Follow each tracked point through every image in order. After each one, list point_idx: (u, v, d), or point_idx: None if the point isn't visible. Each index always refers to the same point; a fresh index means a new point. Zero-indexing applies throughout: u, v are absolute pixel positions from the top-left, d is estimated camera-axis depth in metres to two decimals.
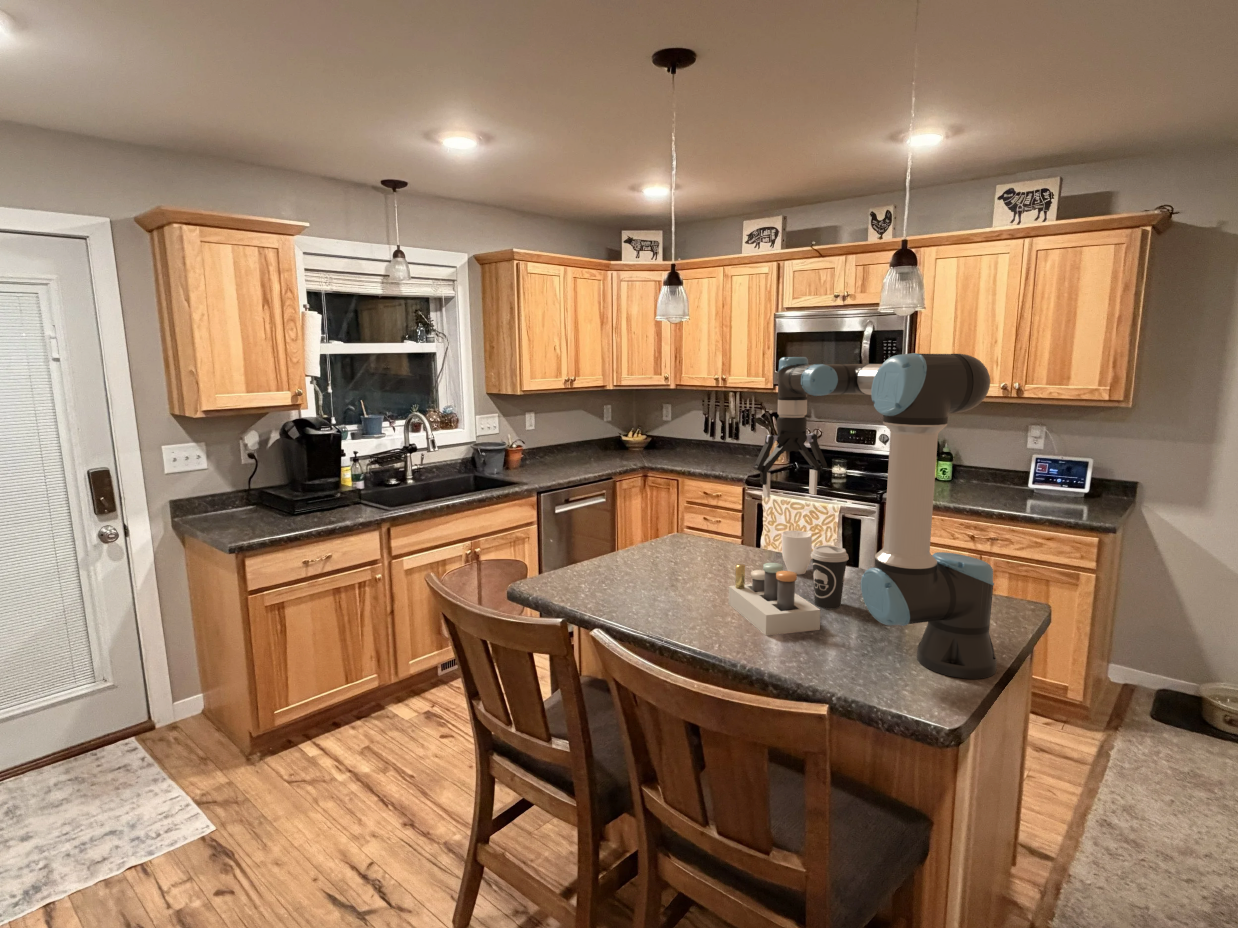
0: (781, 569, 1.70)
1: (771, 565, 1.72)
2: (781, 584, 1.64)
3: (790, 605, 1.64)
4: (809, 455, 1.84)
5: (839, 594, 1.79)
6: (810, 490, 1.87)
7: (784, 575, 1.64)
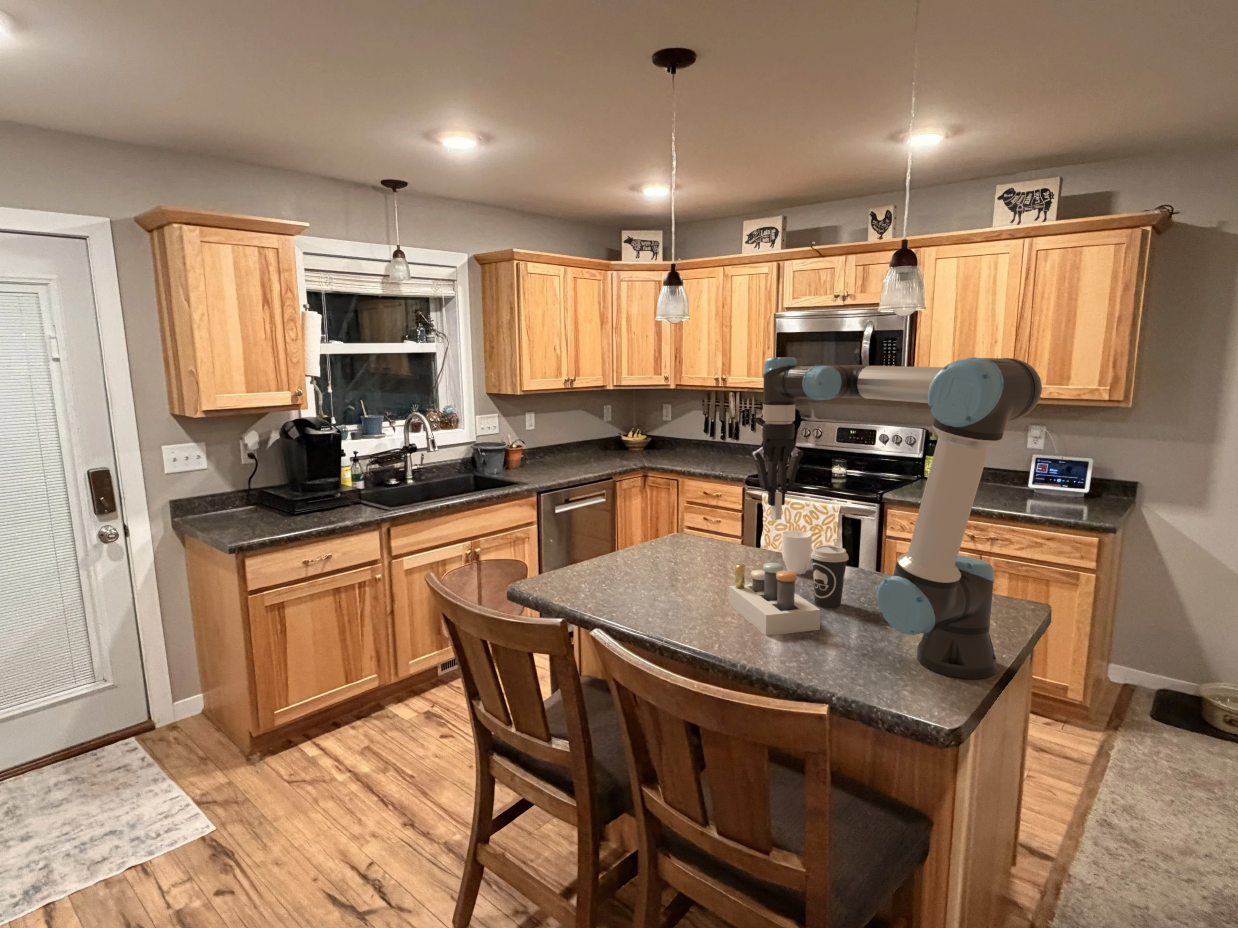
0: (781, 569, 1.70)
1: (771, 565, 1.72)
2: (781, 584, 1.64)
3: (790, 605, 1.64)
4: (784, 471, 1.67)
5: (839, 594, 1.79)
6: None
7: (784, 575, 1.64)
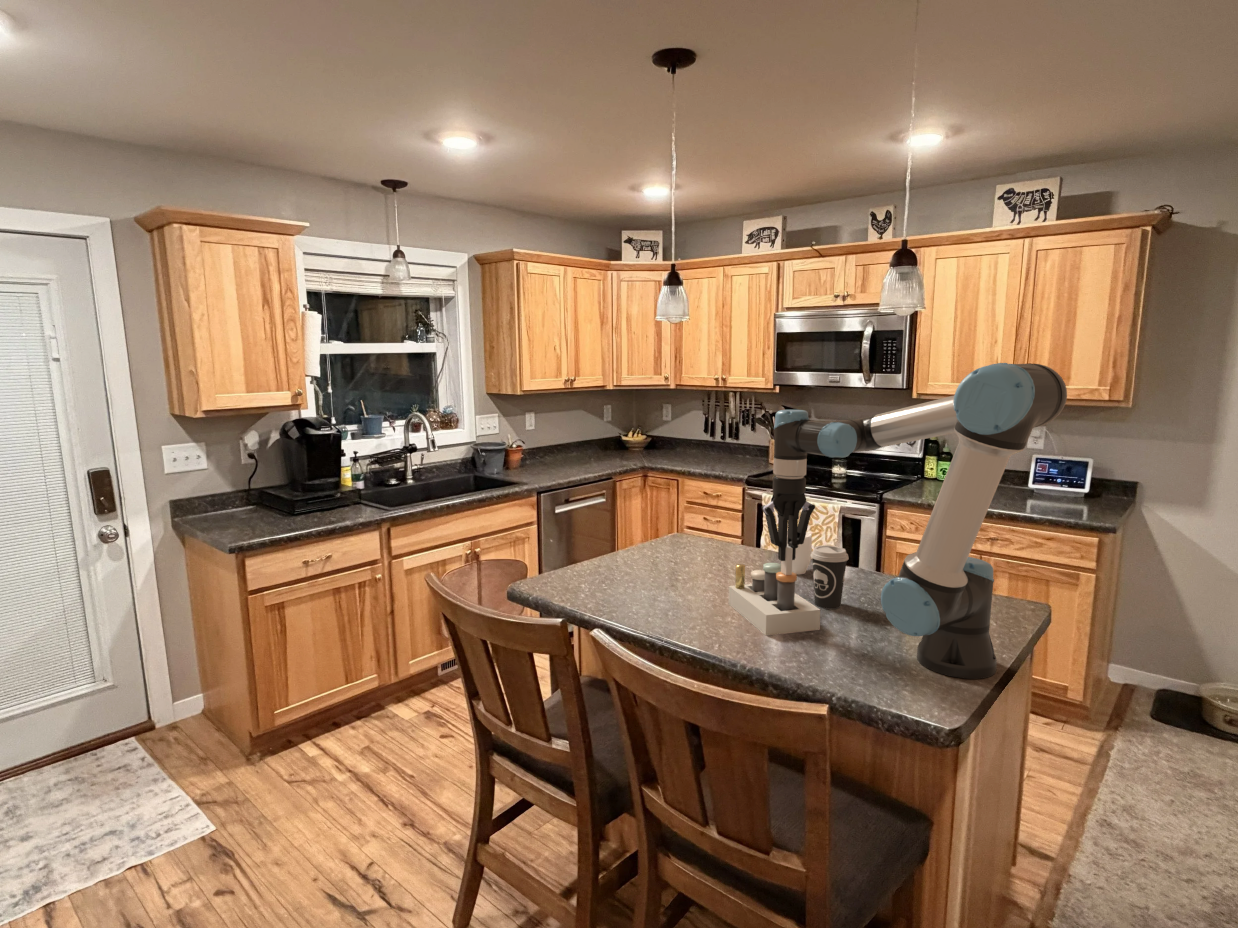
0: None
1: (771, 565, 1.72)
2: (781, 585, 1.64)
3: (790, 606, 1.64)
4: (795, 526, 1.63)
5: (839, 594, 1.79)
6: None
7: (784, 575, 1.64)
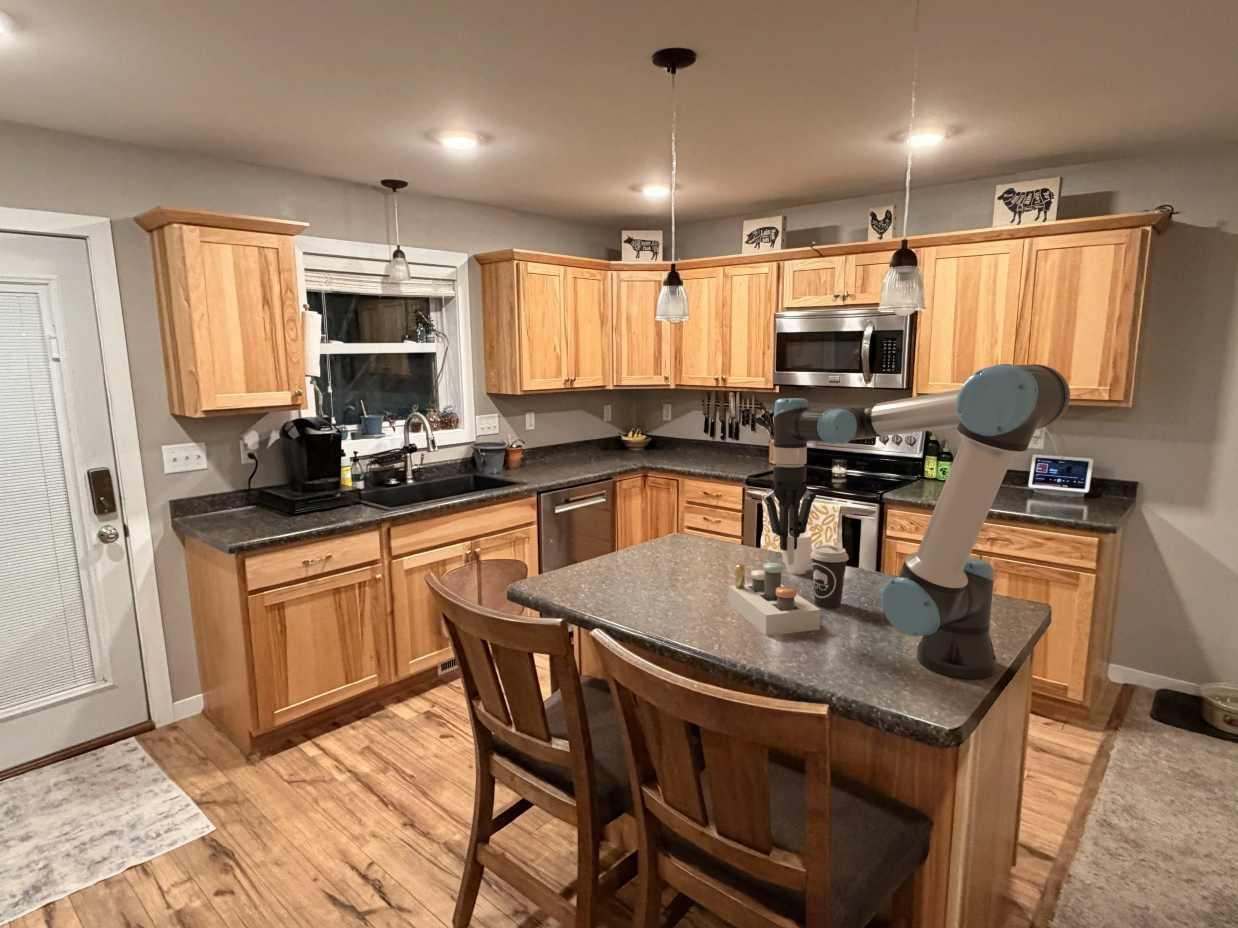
0: (781, 569, 1.70)
1: (771, 565, 1.72)
2: (780, 600, 1.65)
3: None
4: (796, 515, 1.62)
5: (839, 594, 1.79)
6: None
7: (783, 591, 1.65)
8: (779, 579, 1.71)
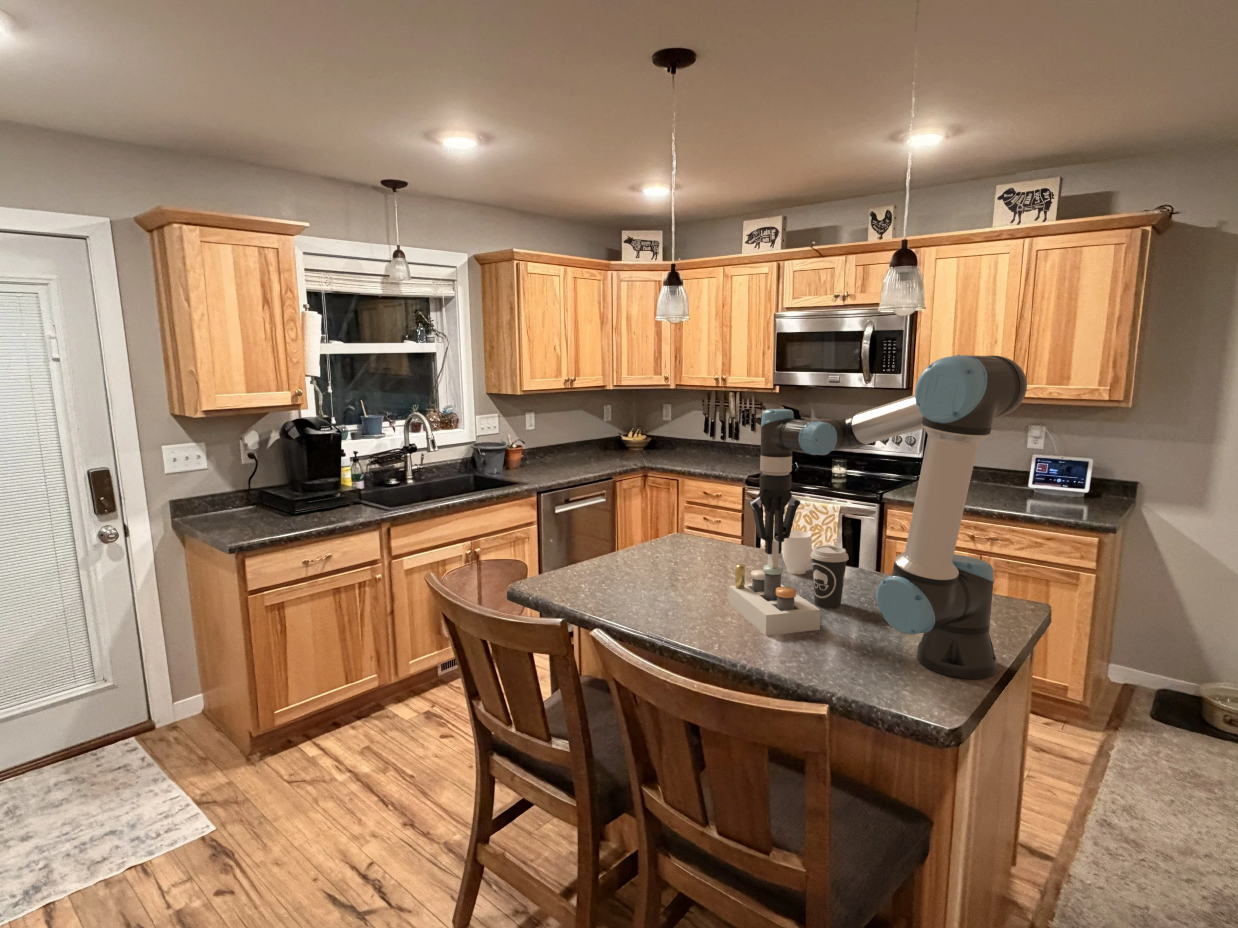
0: (781, 571, 1.70)
1: (771, 567, 1.72)
2: (780, 600, 1.65)
3: None
4: (781, 520, 1.69)
5: (839, 594, 1.79)
6: None
7: (783, 591, 1.65)
8: (779, 581, 1.71)
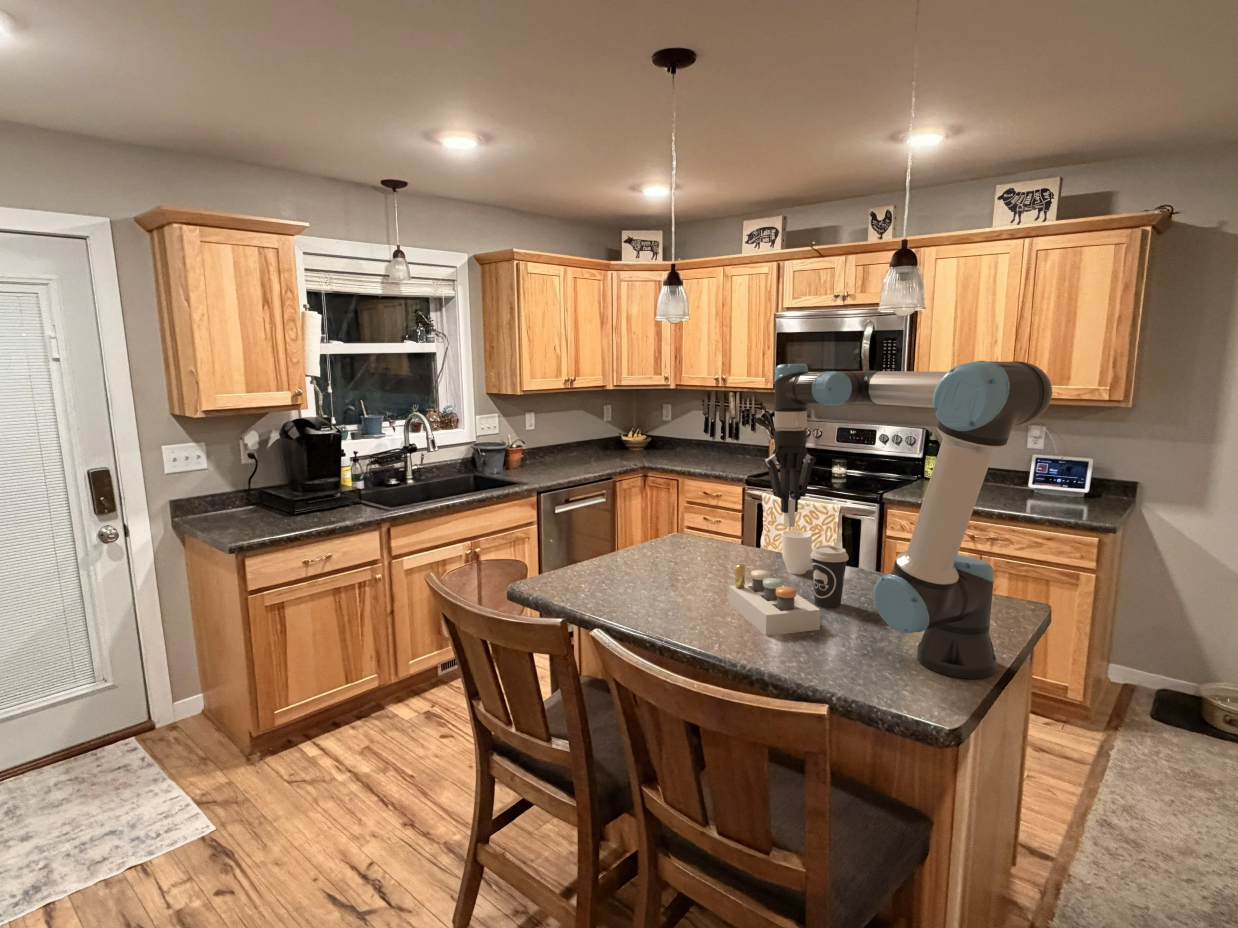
0: (781, 585, 1.71)
1: (770, 581, 1.72)
2: (780, 600, 1.65)
3: None
4: (797, 478, 1.66)
5: (839, 594, 1.79)
6: None
7: (783, 591, 1.65)
8: None
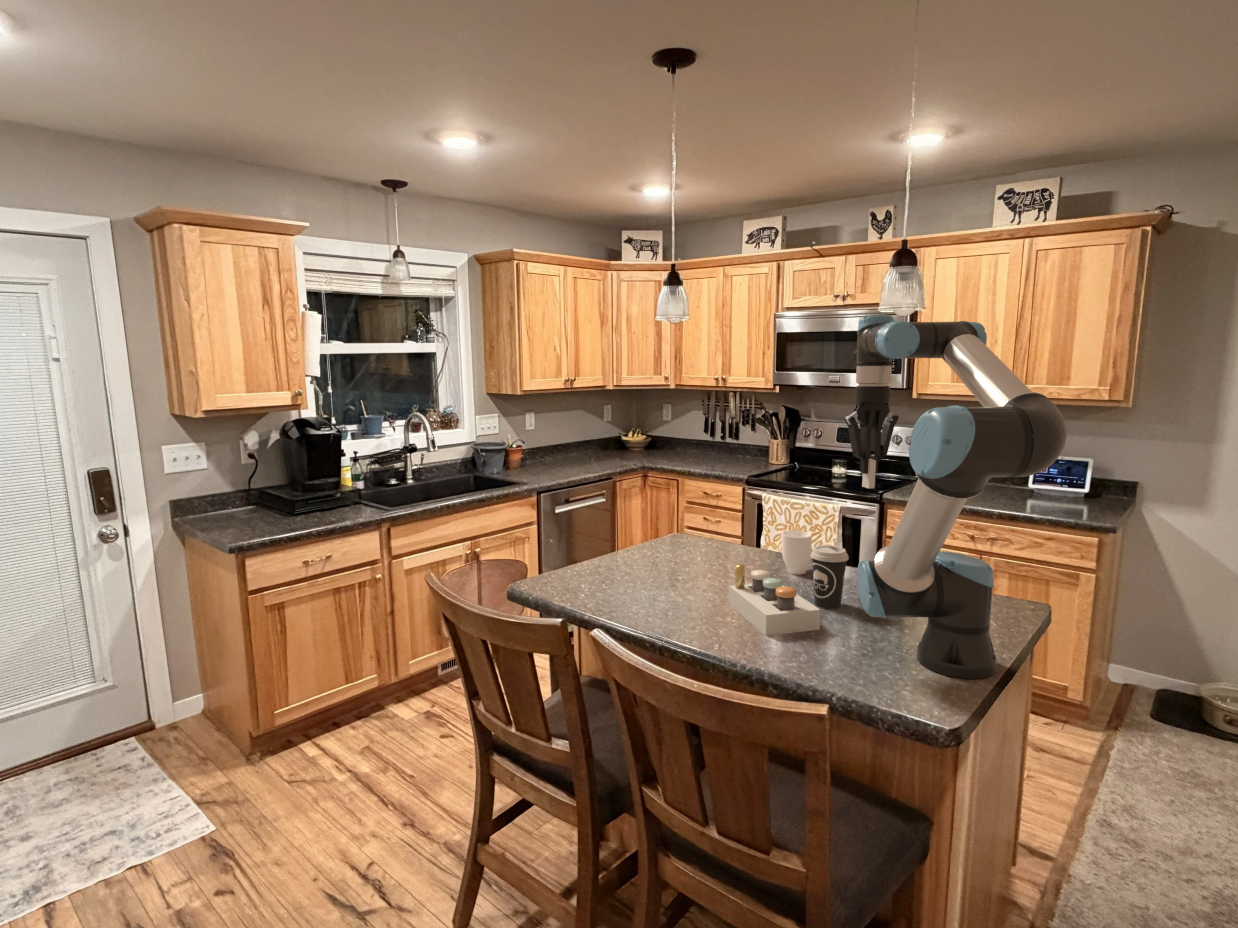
0: (781, 585, 1.71)
1: (770, 581, 1.72)
2: (780, 600, 1.65)
3: None
4: (878, 437, 1.58)
5: (839, 594, 1.79)
6: None
7: (783, 591, 1.65)
8: None
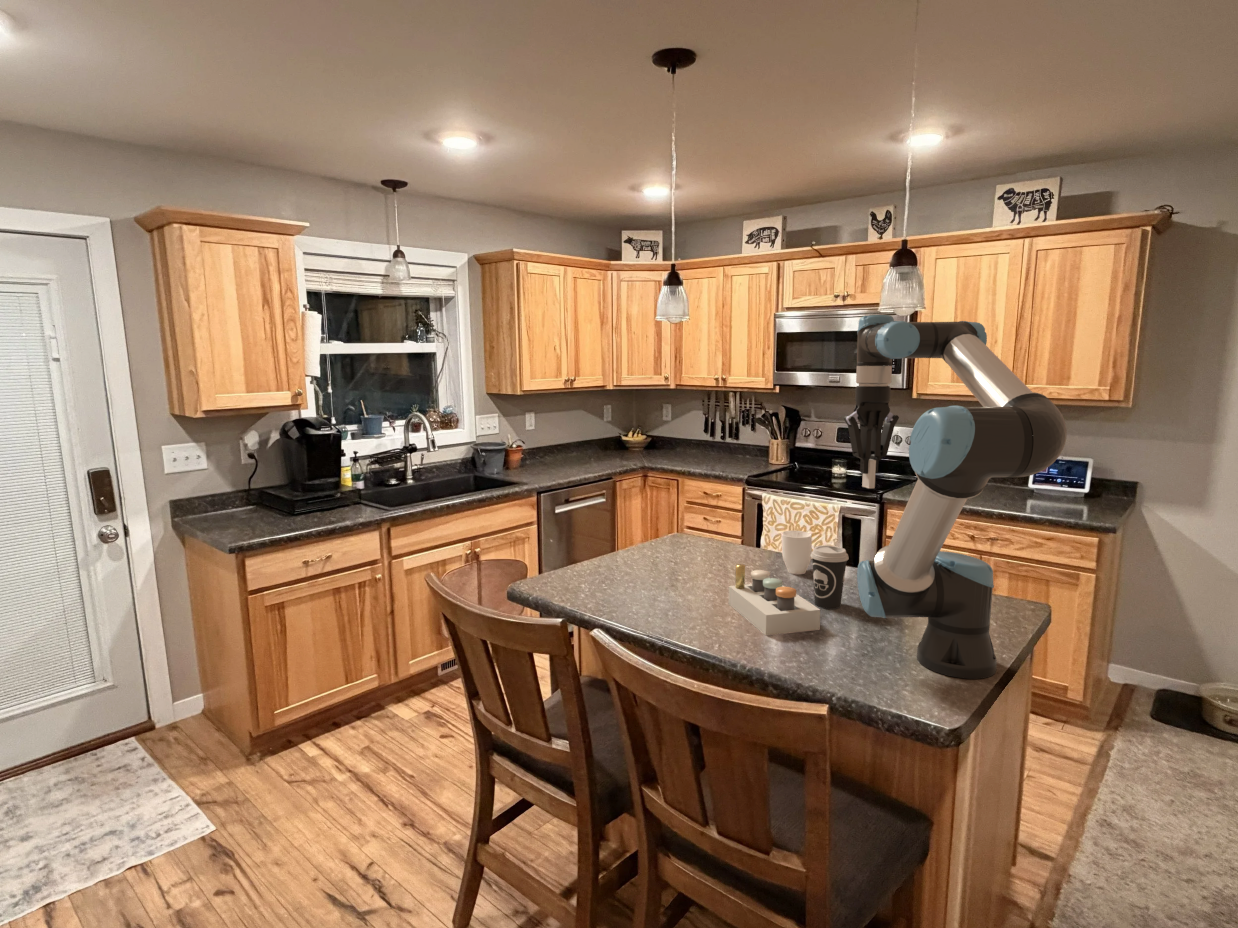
0: (781, 585, 1.71)
1: (770, 581, 1.72)
2: (780, 600, 1.65)
3: None
4: (878, 437, 1.58)
5: (839, 594, 1.79)
6: None
7: (783, 591, 1.65)
8: None
